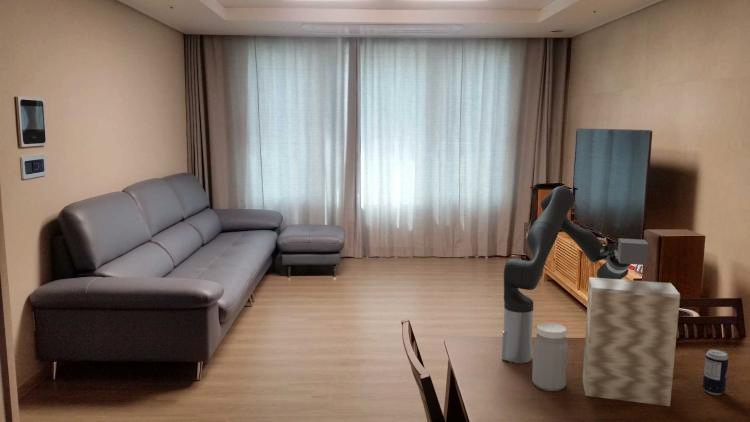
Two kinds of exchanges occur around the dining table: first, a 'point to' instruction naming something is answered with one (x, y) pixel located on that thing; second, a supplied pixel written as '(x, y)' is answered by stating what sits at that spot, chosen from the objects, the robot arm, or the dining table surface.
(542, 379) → the jar
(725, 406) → the dining table surface
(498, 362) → the dining table surface
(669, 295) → the beige zigzag box
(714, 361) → the beverage can
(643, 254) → the salmon and grey blocks
